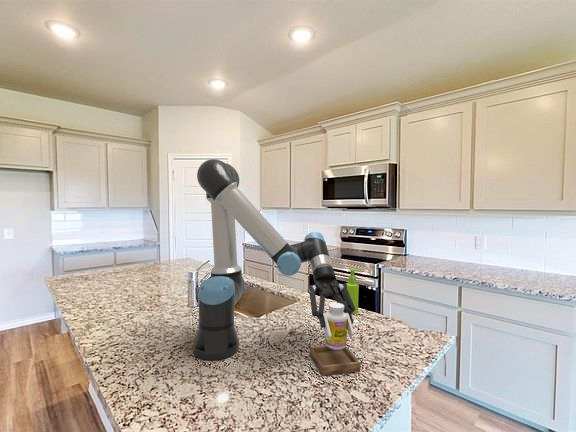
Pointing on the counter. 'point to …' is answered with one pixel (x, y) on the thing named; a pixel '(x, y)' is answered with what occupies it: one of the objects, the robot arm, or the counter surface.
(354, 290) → the soap dispenser
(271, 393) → the counter surface
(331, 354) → the walnut tray
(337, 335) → the supplement bottle
